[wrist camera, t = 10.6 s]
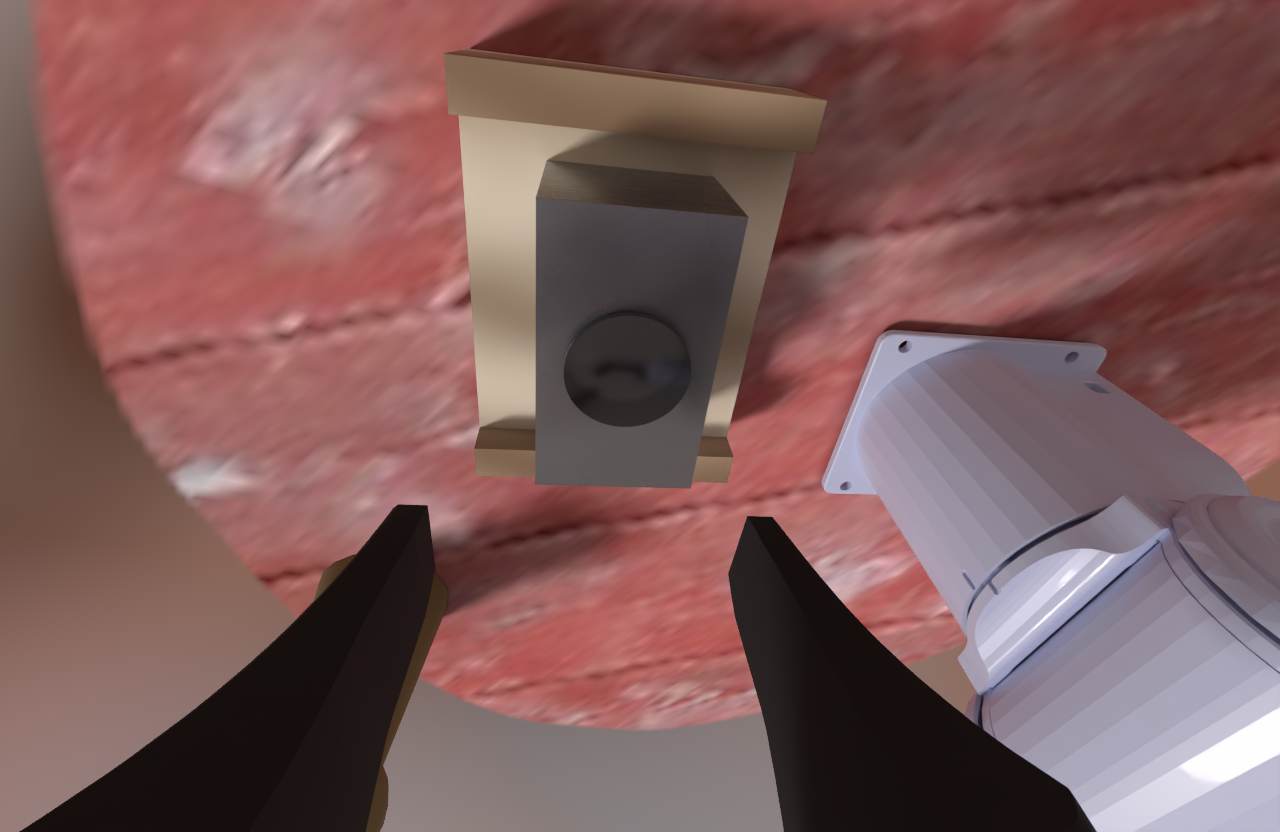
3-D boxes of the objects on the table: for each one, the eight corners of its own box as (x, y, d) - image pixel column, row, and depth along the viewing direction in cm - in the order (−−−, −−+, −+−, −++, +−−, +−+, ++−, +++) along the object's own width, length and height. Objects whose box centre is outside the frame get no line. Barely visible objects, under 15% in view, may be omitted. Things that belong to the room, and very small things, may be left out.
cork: (323, 542, 25) (176, 831, 16) (459, 566, 27) (395, 841, 18) (314, 621, 28) (188, 900, 19) (437, 638, 30) (373, 903, 21)
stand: (468, 48, 15) (443, 53, 12) (788, 88, 16) (827, 100, 13) (489, 422, 22) (476, 475, 19) (710, 431, 23) (727, 482, 20)
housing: (673, 412, 20) (691, 495, 16) (543, 407, 19) (534, 491, 16) (714, 176, 15) (752, 220, 12) (546, 160, 15) (534, 201, 11)
